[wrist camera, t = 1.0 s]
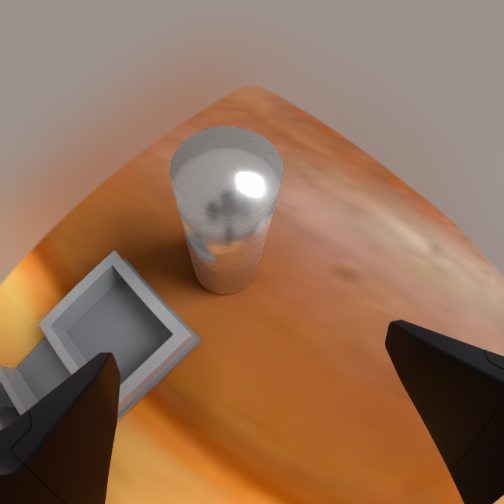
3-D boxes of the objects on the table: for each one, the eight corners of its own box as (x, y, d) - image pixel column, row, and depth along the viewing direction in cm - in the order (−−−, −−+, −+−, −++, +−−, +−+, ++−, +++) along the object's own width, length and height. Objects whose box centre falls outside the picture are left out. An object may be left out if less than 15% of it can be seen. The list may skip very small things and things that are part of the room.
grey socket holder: (35, 494, 14) (14, 503, 11) (-18, 416, 16) (-41, 416, 13) (202, 341, 21) (197, 334, 18) (129, 263, 23) (115, 244, 20)
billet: (256, 297, 23) (284, 217, 12) (190, 292, 23) (160, 209, 12) (258, 237, 25) (282, 130, 14) (197, 234, 25) (180, 124, 14)
